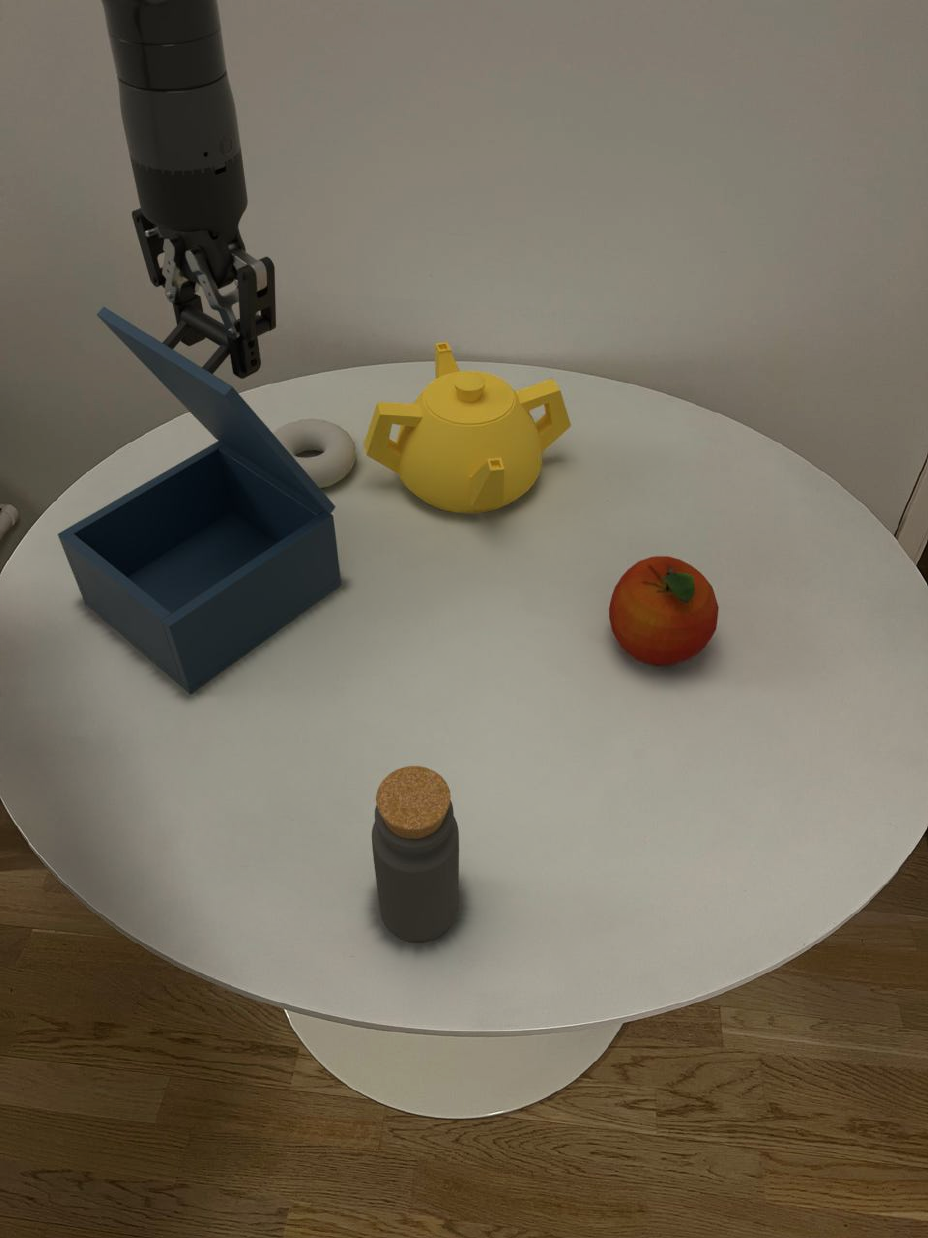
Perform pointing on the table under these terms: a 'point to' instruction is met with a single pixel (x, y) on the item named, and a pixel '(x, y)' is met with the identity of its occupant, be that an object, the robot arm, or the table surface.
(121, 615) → the cool box
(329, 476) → the donut
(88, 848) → the table surface
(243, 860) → the table surface
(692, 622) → the fruit
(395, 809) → the bottle
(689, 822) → the table surface
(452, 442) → the teapot
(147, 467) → the table surface
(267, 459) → the cool box lid
